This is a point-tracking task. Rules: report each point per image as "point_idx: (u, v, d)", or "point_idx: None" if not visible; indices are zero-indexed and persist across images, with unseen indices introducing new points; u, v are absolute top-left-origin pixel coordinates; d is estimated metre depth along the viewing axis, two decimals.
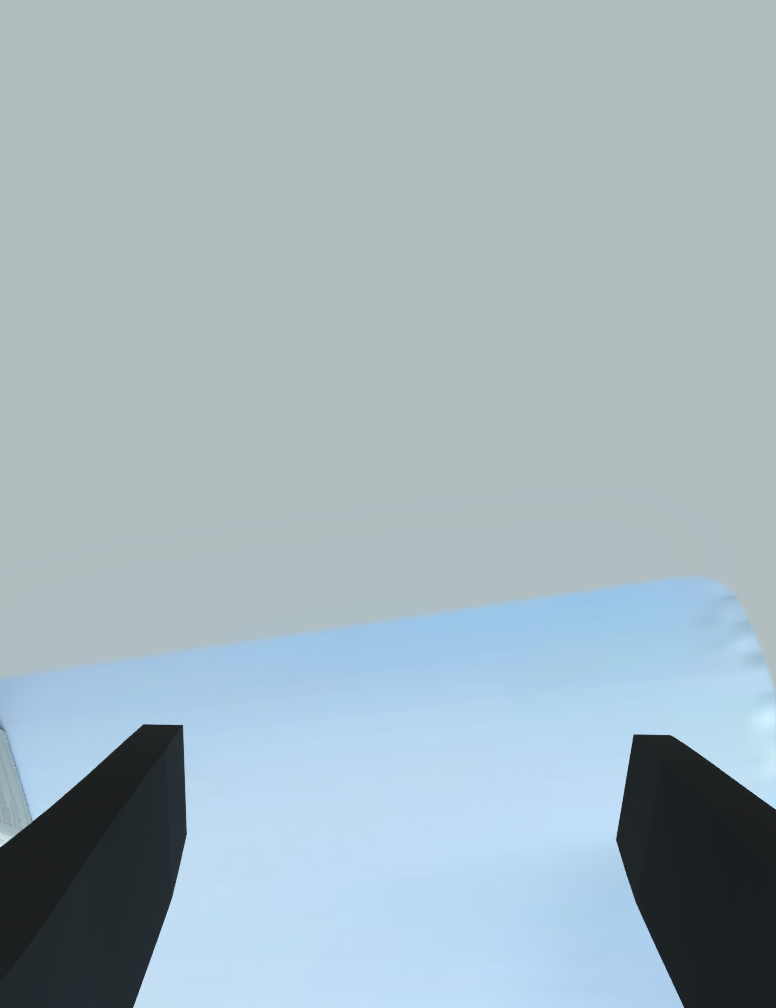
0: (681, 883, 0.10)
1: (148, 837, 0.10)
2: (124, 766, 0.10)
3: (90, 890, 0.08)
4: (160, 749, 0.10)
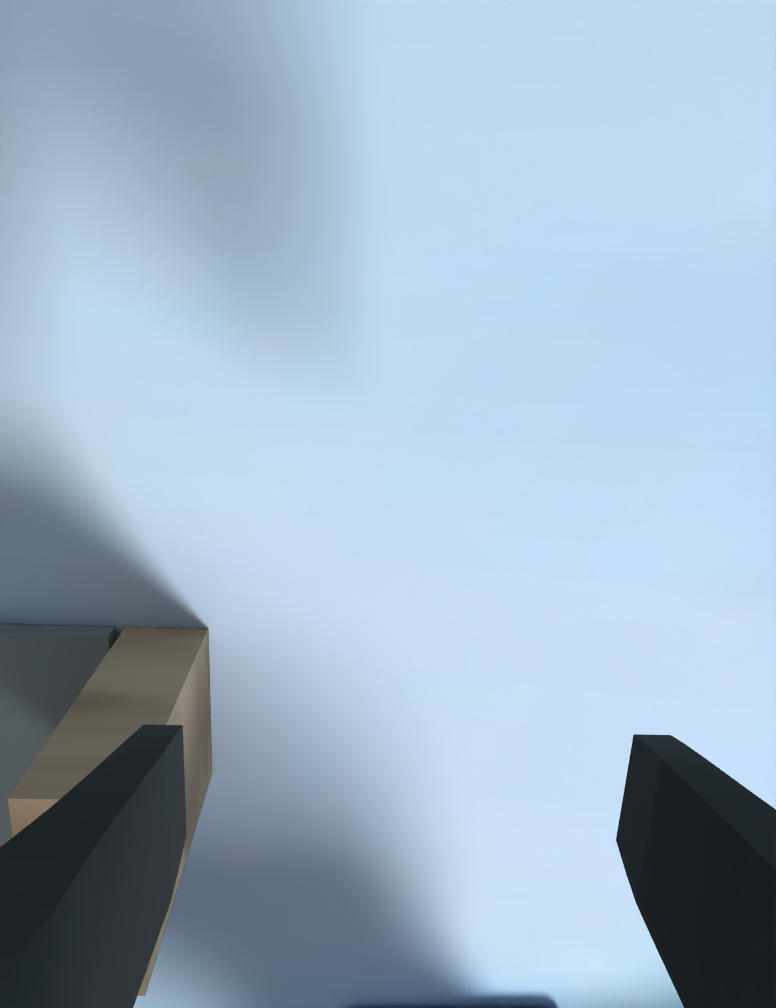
0: (682, 883, 0.10)
1: (148, 837, 0.10)
2: (124, 766, 0.10)
3: (90, 890, 0.08)
4: (160, 749, 0.10)
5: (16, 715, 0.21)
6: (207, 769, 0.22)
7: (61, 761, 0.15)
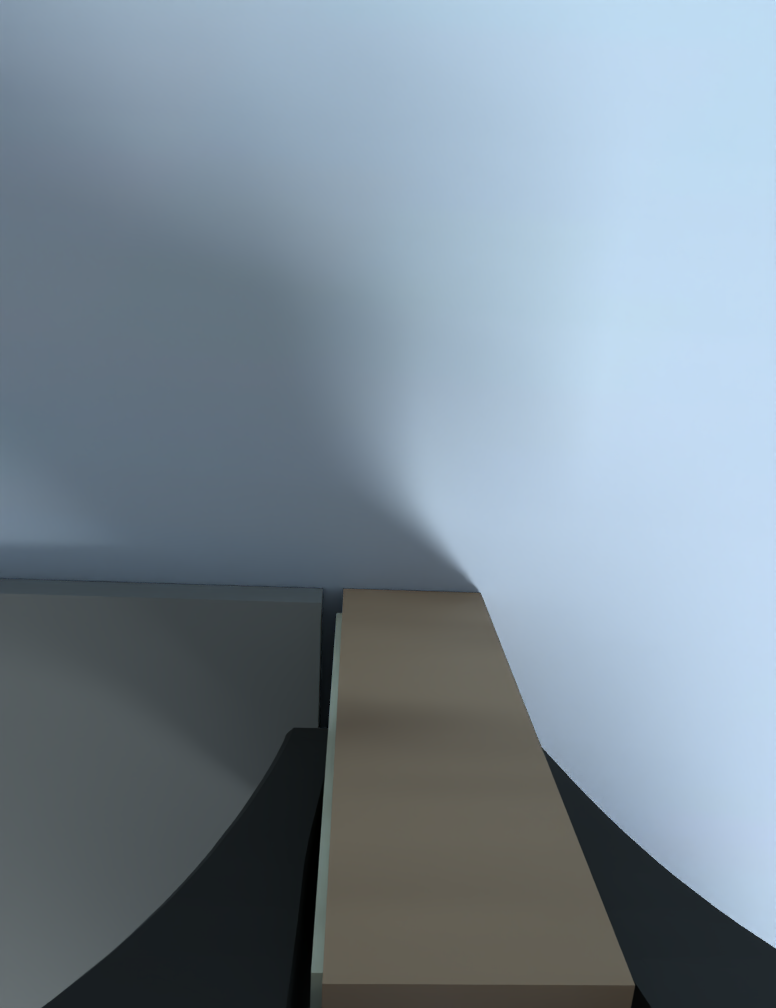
0: None
1: None
2: (297, 769, 0.10)
3: (303, 892, 0.08)
4: (324, 752, 0.10)
5: (156, 737, 0.13)
6: None
7: (392, 866, 0.07)
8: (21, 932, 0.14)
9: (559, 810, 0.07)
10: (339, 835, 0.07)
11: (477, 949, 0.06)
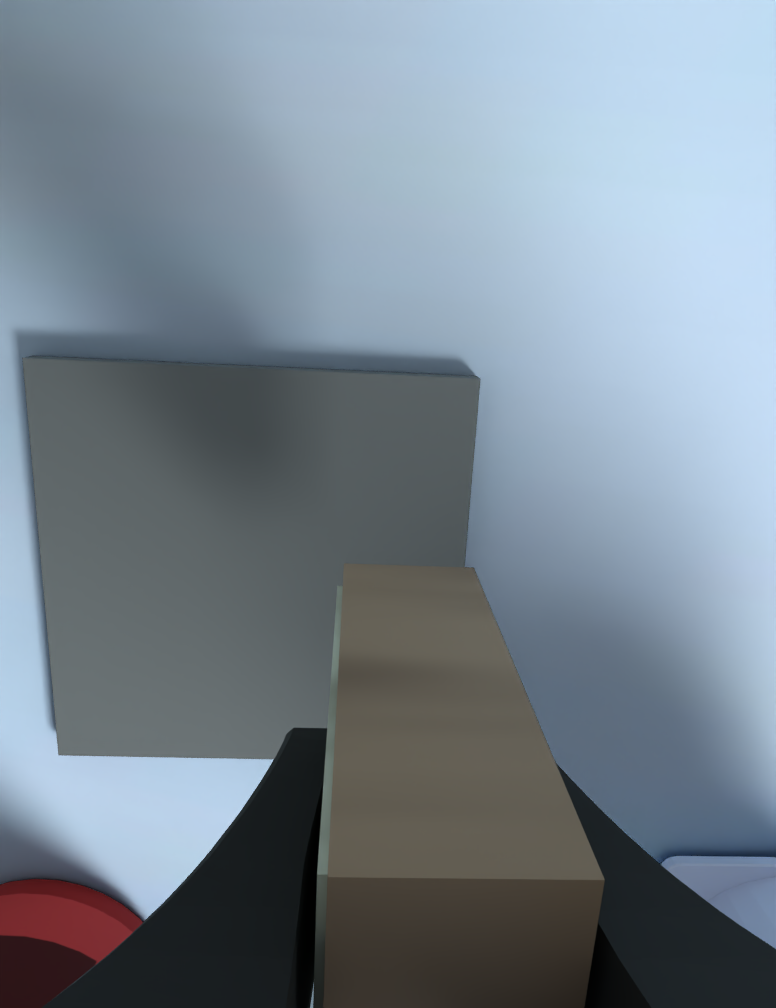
0: None
1: None
2: (298, 769, 0.10)
3: (304, 892, 0.08)
4: (325, 752, 0.10)
5: (362, 478, 0.19)
6: None
7: (389, 788, 0.07)
8: (256, 628, 0.20)
9: (542, 745, 0.08)
10: (341, 764, 0.08)
11: (464, 851, 0.07)
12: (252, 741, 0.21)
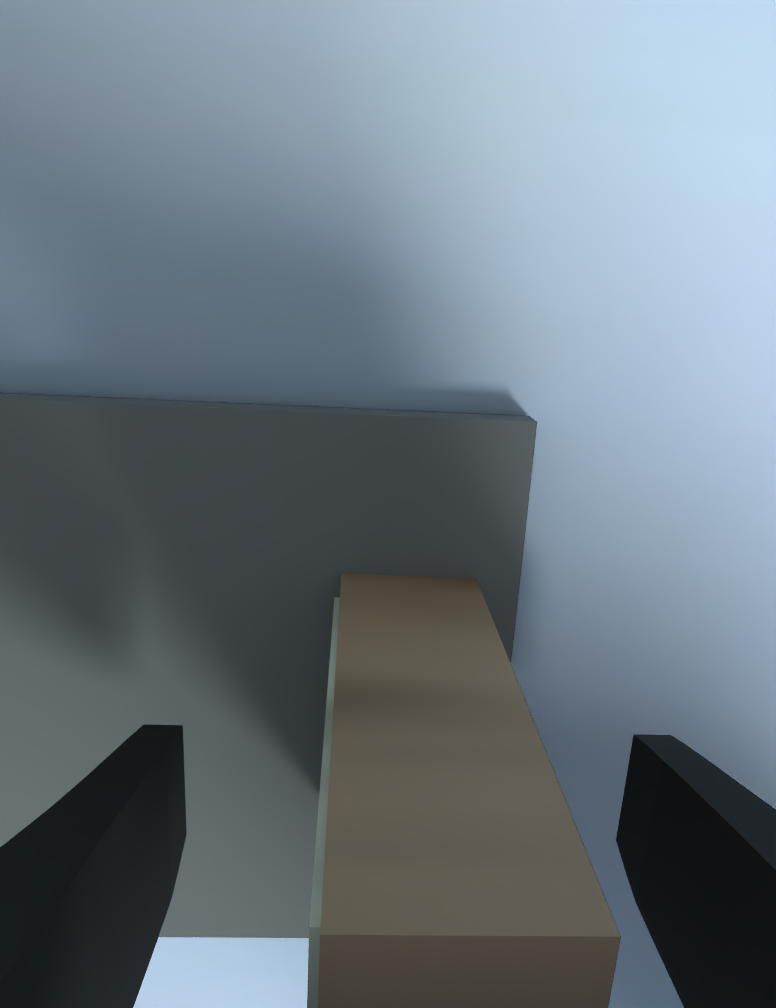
0: (682, 884, 0.10)
1: (148, 837, 0.10)
2: (124, 766, 0.10)
3: (90, 890, 0.08)
4: (160, 749, 0.10)
5: (364, 563, 0.13)
6: None
7: (388, 829, 0.07)
8: (215, 769, 0.14)
9: (550, 778, 0.08)
10: (337, 800, 0.07)
11: (469, 903, 0.06)
12: (212, 915, 0.15)
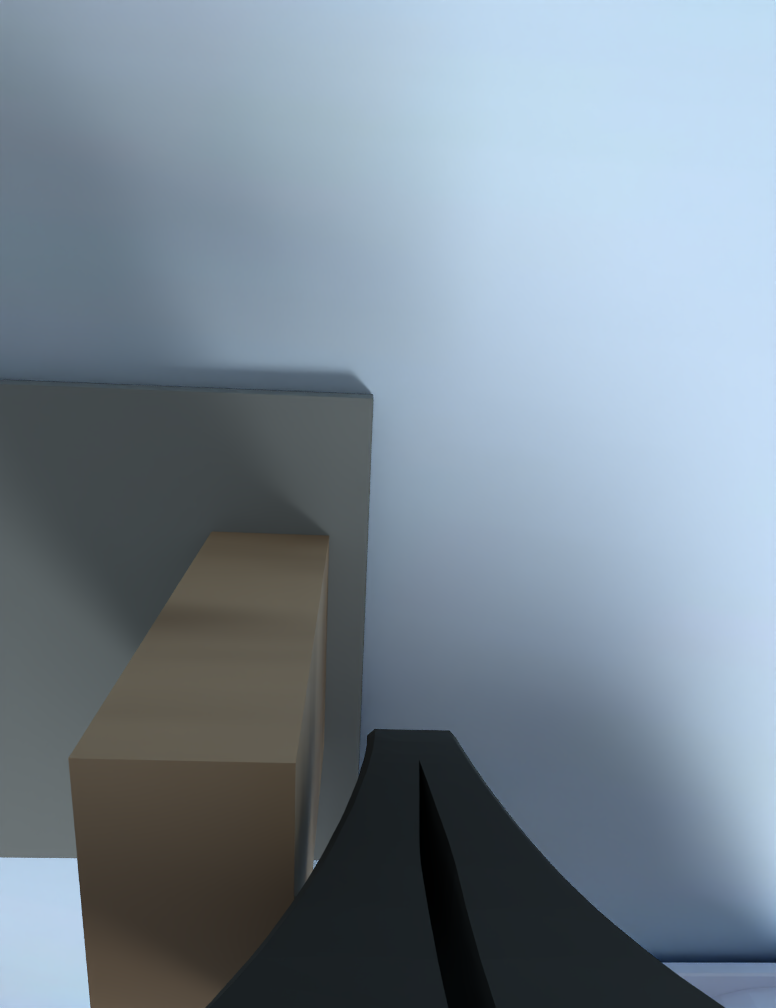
0: (424, 881, 0.10)
1: None
2: (391, 771, 0.10)
3: None
4: (413, 754, 0.10)
5: (231, 522, 0.15)
6: (323, 739, 0.16)
7: (154, 699, 0.09)
8: None
9: (304, 671, 0.10)
10: (123, 682, 0.09)
11: (192, 743, 0.08)
12: None
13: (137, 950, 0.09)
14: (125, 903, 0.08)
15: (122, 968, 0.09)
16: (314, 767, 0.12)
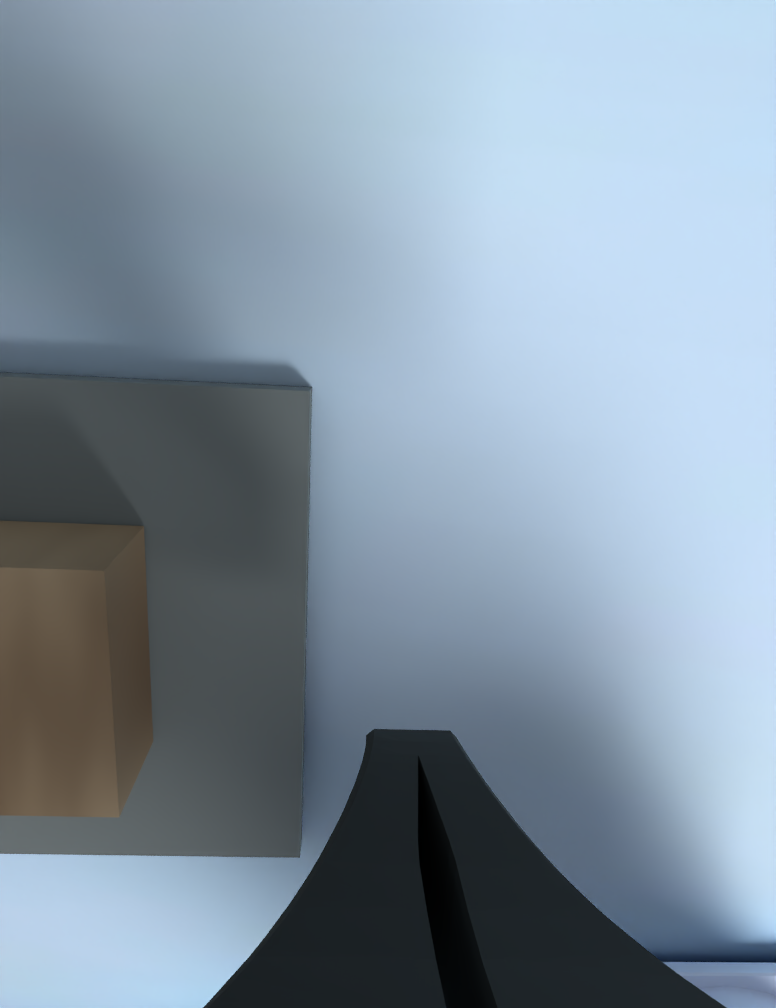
0: (424, 881, 0.10)
1: None
2: (390, 771, 0.10)
3: None
4: (412, 754, 0.10)
5: (168, 515, 0.15)
6: (79, 787, 0.14)
7: None
8: None
9: None
10: None
11: None
12: (55, 834, 0.17)
13: None
14: None
15: None
16: None
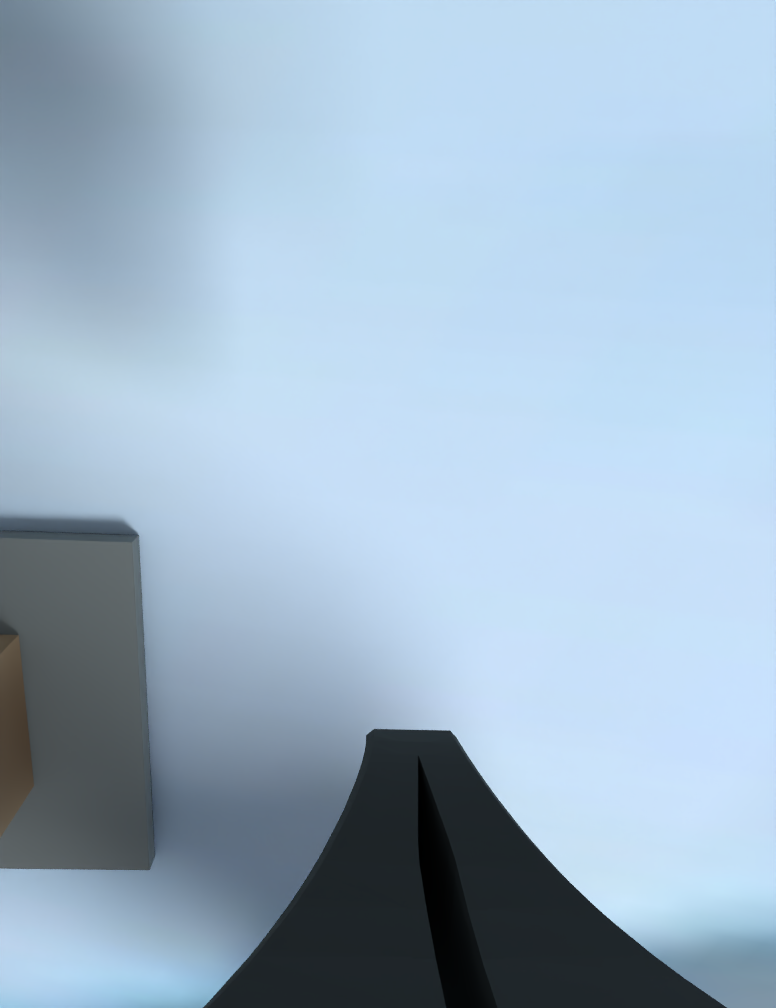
0: (424, 881, 0.10)
1: None
2: (390, 770, 0.10)
3: None
4: (412, 753, 0.10)
5: (36, 627, 0.21)
6: None
7: None
8: None
9: None
10: None
11: None
12: None
13: None
14: None
15: None
16: None
